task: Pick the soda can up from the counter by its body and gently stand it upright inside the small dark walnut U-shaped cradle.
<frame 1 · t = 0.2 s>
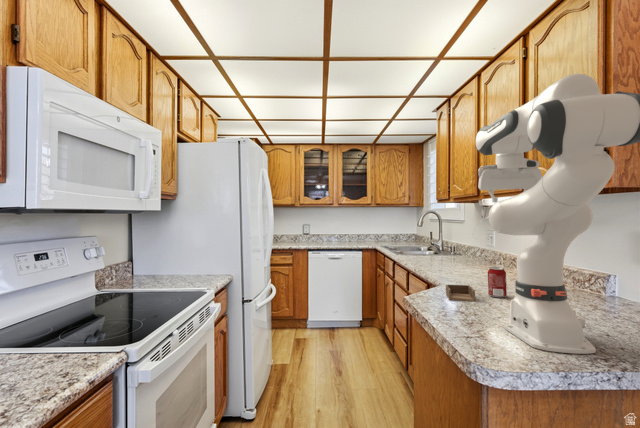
hand: (508, 201, 115), 39 cm above the countertop, tool pointing down, fingers open, 8 cm apart
soda can: (497, 297, 131), on the countertop
can rest: (459, 297, 130), on the countertop
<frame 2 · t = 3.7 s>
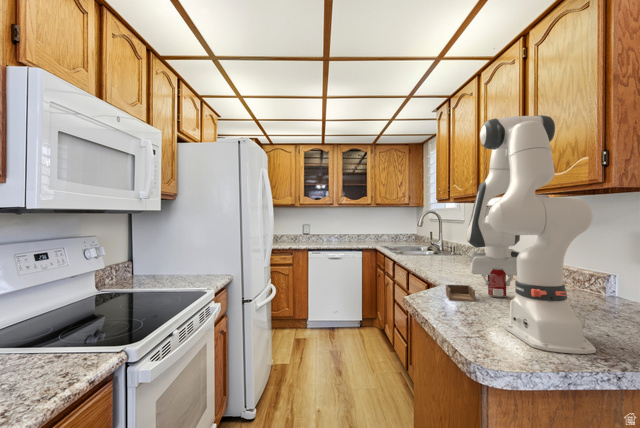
hand: (497, 285, 131), 5 cm above the countertop, tool pointing down, fingers closed on soda can, 6 cm apart
soda can: (497, 297, 131), on the countertop, touching gripper
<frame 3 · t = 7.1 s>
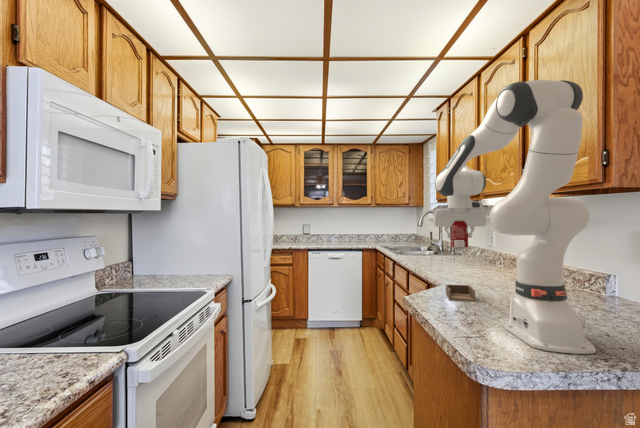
hand: (459, 237, 130), 25 cm above the countertop, tool pointing down, fingers closed on soda can, 6 cm apart
soda can: (459, 249, 130), point 20 cm above the countertop, touching gripper
when the fingers open (7 cm above the countertop, at t = 10.3 s): soda can drops 1 cm, resting on can rest.
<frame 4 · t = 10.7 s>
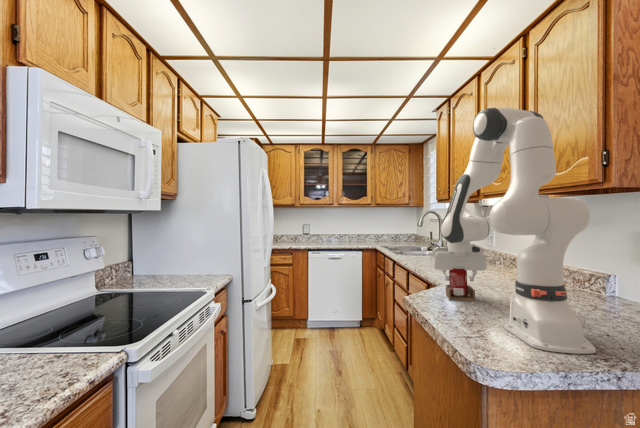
hand: (459, 280, 130), 7 cm above the countertop, tool pointing down, fingers open, 8 cm apart
soda can: (458, 296, 130), point 1 cm above the countertop, touching can rest
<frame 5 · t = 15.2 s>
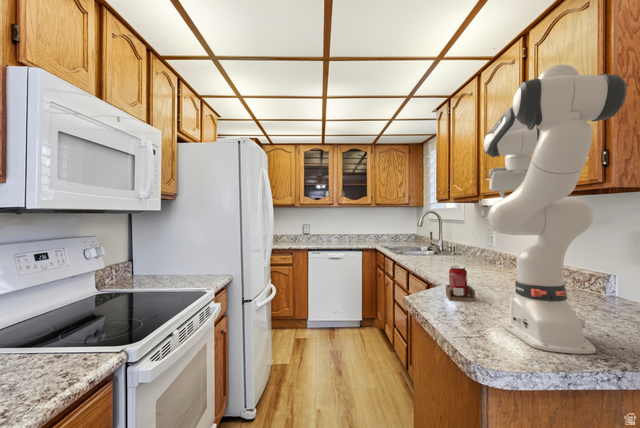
hand: (519, 202, 121), 39 cm above the countertop, tool pointing down, fingers open, 8 cm apart
nothing on the countertop moved.
at the end: soda can 0.5 cm off-centre on the can rest, point 0.6 cm above the can rest's base; soda can tilted 0°; the gripper is holding nothing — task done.
